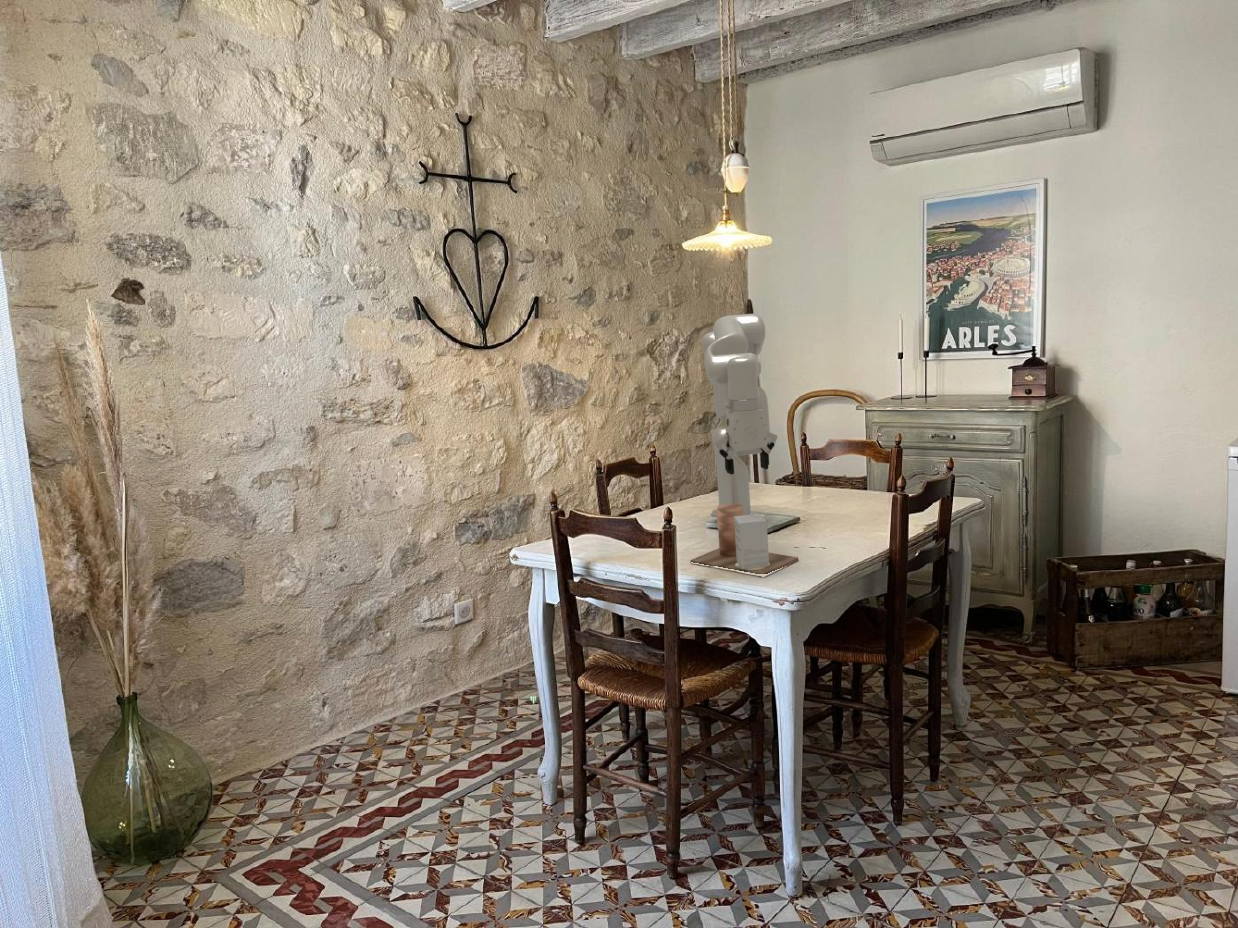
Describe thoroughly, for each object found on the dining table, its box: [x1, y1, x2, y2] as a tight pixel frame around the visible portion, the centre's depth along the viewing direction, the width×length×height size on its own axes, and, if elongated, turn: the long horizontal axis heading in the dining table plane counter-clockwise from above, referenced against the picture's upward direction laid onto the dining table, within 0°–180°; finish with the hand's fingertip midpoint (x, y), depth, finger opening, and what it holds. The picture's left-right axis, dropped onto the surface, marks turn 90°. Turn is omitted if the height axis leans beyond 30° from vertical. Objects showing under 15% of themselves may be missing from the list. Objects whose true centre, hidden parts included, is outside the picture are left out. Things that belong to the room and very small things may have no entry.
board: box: [690, 504, 799, 574], centre depth 252 cm, size 24×16×14 cm, turn 47°
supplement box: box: [734, 513, 770, 569], centre depth 246 cm, size 7×7×13 cm
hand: (747, 470), depth 243 cm, fingers open, 9 cm apart
